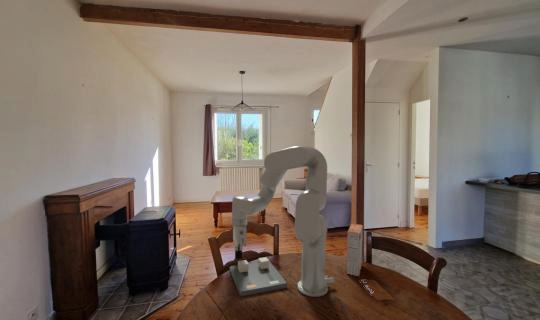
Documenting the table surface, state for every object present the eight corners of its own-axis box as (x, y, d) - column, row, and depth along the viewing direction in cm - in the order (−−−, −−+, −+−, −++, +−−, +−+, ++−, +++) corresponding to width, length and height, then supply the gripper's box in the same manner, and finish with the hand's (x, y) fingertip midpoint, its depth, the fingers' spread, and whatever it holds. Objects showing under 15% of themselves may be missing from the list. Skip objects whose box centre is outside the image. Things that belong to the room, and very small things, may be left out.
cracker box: (349, 262, 128) (351, 223, 127) (362, 265, 125) (363, 224, 124) (345, 274, 115) (346, 230, 114) (359, 277, 112) (360, 232, 112)
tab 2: (266, 264, 119) (266, 257, 119) (269, 267, 115) (269, 260, 115) (258, 265, 118) (258, 258, 117) (260, 269, 114) (261, 261, 114)
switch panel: (269, 264, 124) (269, 260, 124) (286, 287, 103) (286, 282, 103) (229, 270, 117) (229, 266, 117) (240, 296, 96) (240, 291, 96)
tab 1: (246, 267, 115) (246, 259, 115) (248, 271, 112) (248, 263, 112) (237, 268, 114) (238, 261, 114) (239, 272, 110) (239, 264, 110)
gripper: (251, 225, 114) (249, 264, 115) (243, 216, 128) (242, 251, 129) (235, 226, 112) (234, 266, 112) (229, 217, 126) (228, 252, 126)
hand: (238, 258), depth 121 cm, fingers closed
